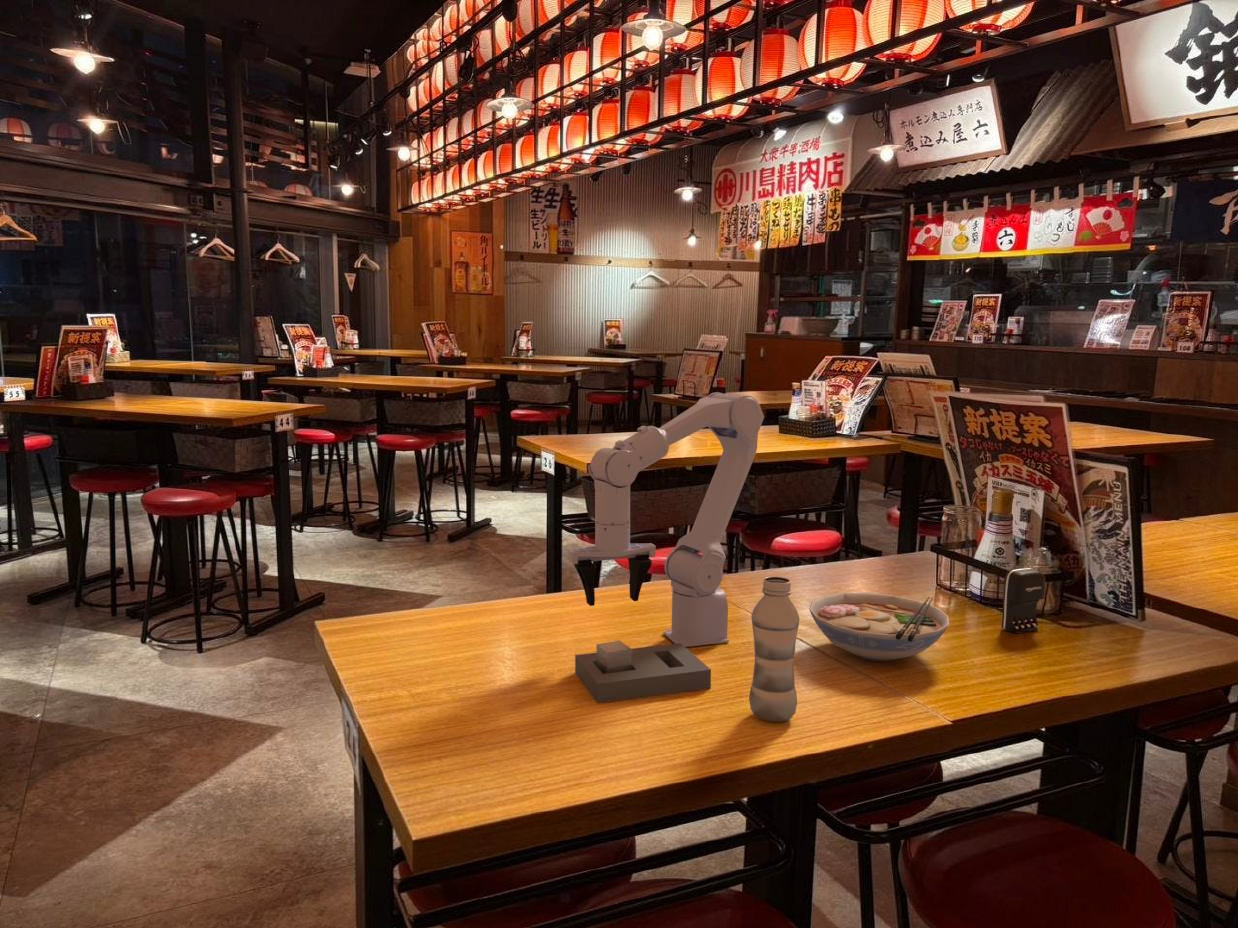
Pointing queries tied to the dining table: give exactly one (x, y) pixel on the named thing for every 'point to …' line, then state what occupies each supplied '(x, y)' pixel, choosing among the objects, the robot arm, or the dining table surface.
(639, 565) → the robot arm
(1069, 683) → the dining table surface
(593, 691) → the socket block
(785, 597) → the plastic bottle
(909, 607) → the ramen bowl
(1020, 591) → the battery charger
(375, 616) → the dining table surface
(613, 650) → the square bit
